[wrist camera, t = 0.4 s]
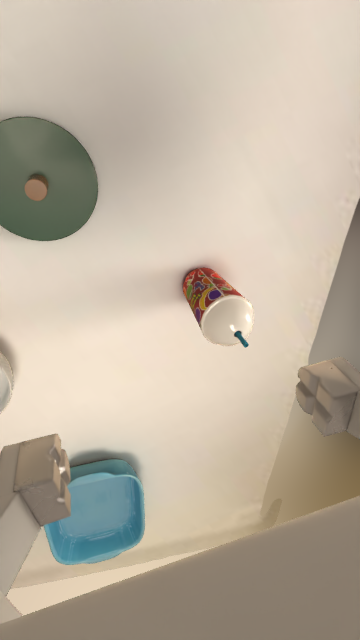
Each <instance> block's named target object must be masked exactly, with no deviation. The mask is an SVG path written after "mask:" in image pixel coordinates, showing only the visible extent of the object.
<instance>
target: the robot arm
mask: <svg viewBox="0 0 360 640" xmlns="http://www.w3.org/2000/svg"><path fill="white" fill-rule="evenodd" d="M298 377H299V378H300V382H299V383H298V384H297V385H296V397H297V401H298V403H299V405H300V406H301V408H302V409H303V410H304V412H306V413H308V414H311V415H312V422H313V423H314V424H315V426H316V427H317V428H318V430H319V431H320V432H321V433H322V435H323V436H328V435H332V434H335V433H339V432H343V431H346V430H347V432H349V433H350V434H352V435H354V436H355V437H357V438H359V439H360V372H359V371H358V370H357V369H356V368H354V367H353V366H352V365H351V364H350V363H349V362H348V361H347V360H346V359H344V358H342V357H337V358H333V359H329V360H326V361H322V362H318V363H315V364H311V365H308V366H304V367H301V368H300V369H299V371H298ZM70 481H71V480H70V466H69V461H68V457H67V454H66V452H65V450H63V449H61V440H60V438H59V436H58V434H52V435H48V436H44V437H40V438H36V439H32V440H28V441H24V442H21V443H16V444H12V445H8V446H4V447H3V449H2V451H1V454H0V640H360V496H358V497H355V498H352V499H349V500H346V501H344V502H341V503H338V504H335V505H333V506H330V507H327V508H324V509H321V510H318V511H316V512H313V513H310V514H307V515H304V516H302V517H299V518H296V519H293V520H290V521H287V522H285V523H282V524H279V525H276V526H273V527H271V528H268V529H265V530H262V531H259V532H257V533H254V534H251V535H248V536H245V537H243V538H240V539H237V540H234V541H231V542H229V543H226V544H223V545H220V546H217V547H215V548H212V549H209V550H206V551H203V552H201V553H198V554H195V555H192V556H189V557H187V558H184V559H181V560H178V561H176V562H173V563H170V564H167V565H164V566H161V567H159V568H156V569H153V570H150V571H147V572H145V573H142V574H139V575H136V576H134V577H131V578H128V579H125V580H122V581H119V582H117V583H114V584H111V585H108V586H106V587H103V588H100V589H97V590H94V591H91V592H89V593H86V594H83V595H80V596H77V597H75V598H72V599H69V600H66V601H63V602H61V603H58V604H55V605H52V606H49V607H47V608H44V609H41V610H38V611H35V612H33V613H30V614H27V615H24V616H22V614H21V613H20V612H19V611H18V610H17V609H16V607H15V606H14V605H13V604H12V603H11V602H10V601H9V600H8V599H7V598H6V596H7V594H8V592H9V590H10V588H11V586H12V584H13V582H14V580H15V578H16V576H17V574H18V572H19V571H20V569H21V567H22V565H23V563H24V561H25V559H26V557H27V555H28V553H29V551H30V549H31V547H32V545H33V543H34V541H35V539H36V537H37V535H38V533H39V532H40V530H41V526H44V525H47V524H50V523H52V522H55V521H58V520H61V519H64V518H67V517H70V516H71V494H70V492H69V490H68V488H67V486H68V484H69V483H70Z"/></svg>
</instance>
